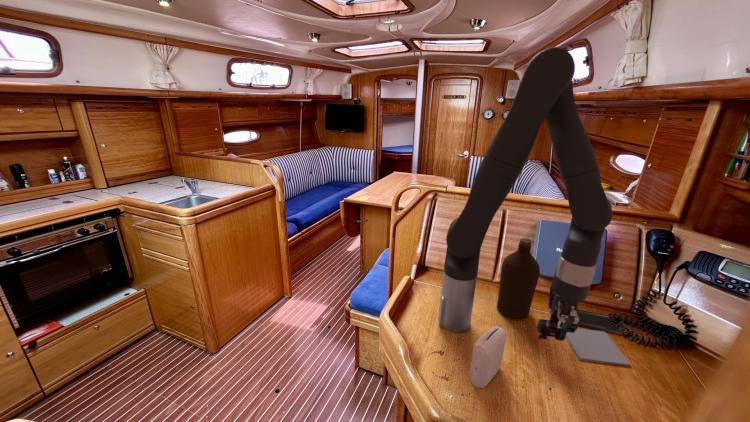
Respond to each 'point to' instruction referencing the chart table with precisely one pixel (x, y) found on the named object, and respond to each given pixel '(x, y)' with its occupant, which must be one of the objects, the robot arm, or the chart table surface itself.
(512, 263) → the olive oil
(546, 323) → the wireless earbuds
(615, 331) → the phone
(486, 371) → the photo printer
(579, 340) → the mat
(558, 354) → the chart table surface
